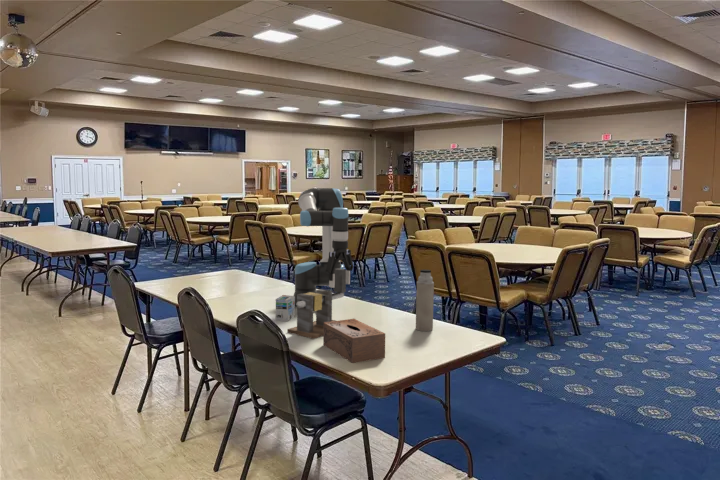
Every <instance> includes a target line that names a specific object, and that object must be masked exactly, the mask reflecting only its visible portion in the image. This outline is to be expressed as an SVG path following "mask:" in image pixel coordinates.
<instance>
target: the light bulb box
mask: <svg viewBox="0 0 720 480" xmlns="http://www.w3.org/2000/svg"><path fill="white" fill-rule="evenodd" d="M295 307H296V306H295V296H294V295H290V294H289V295H288V294H287V295H286V294H282V295H280V296H278V297H277V298H275V320H276V321H285V322H289V321H290V320H291V319H293V318H294V317H295V315H296V311H295V310H296V308H295Z"/></svg>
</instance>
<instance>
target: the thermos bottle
mask: <svg viewBox="0 0 720 480" xmlns="http://www.w3.org/2000/svg"><path fill="white" fill-rule="evenodd" d="M431 272H432V270H431V269H420V275H419V276H417V277H418V278H417V279H418V281H417V280H416V300H415V330H417V331H419V330H420V331H421V332H430V331H429V330H431V331H432V329H434V301H435V300H434V298H435V297H434V293H435V291H434V290H435V282H434V281H433V279H434V278H433V276H432V273H431Z"/></svg>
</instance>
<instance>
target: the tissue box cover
mask: <svg viewBox="0 0 720 480" xmlns="http://www.w3.org/2000/svg"><path fill="white" fill-rule="evenodd" d="M322 337H323V342H322V343H323V346H324V347H325V348H327V349H329V350H331V351H332V352H334V353H335V354H337V355H339V356H340V357H342V358H344V359H345V360H346V361H348V362H349V363H352V364H355V363H356V364H357V363H362V362H367V361H373V360H378V359H385V358H386V333H385V332H383V331H381V330H379V329H377V328H375V327H373V326H370V325H368V324H366V323H364V322H362V321H361V320H357V319H356V318H348V319H339V320H335V321H332V322H324V324H323V336H322Z"/></svg>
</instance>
